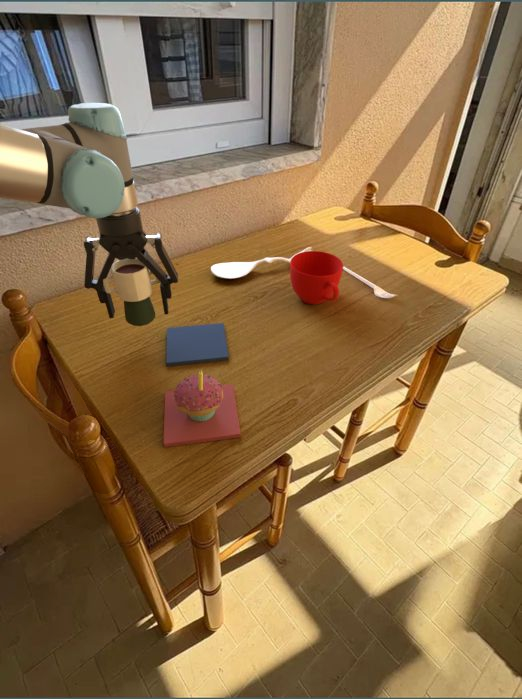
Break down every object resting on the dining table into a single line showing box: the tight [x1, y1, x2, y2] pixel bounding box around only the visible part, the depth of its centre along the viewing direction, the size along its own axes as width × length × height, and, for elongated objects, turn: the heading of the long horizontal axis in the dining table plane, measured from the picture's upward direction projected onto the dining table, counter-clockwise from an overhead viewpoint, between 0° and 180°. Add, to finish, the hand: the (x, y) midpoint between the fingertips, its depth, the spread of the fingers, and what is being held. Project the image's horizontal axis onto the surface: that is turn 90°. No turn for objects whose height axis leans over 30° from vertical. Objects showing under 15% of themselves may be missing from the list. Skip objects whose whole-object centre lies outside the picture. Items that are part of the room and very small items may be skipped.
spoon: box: [210, 246, 314, 280], centre depth 109 cm, size 9×32×4 cm, turn 108°
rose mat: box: [163, 383, 242, 448], centre depth 69 cm, size 13×12×1 cm
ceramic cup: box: [289, 250, 344, 305], centre depth 95 cm, size 13×17×10 cm
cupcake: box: [173, 369, 223, 421], centre depth 65 cm, size 9×8×12 cm
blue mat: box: [165, 322, 230, 367], centre depth 84 cm, size 13×12×1 cm
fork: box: [343, 266, 397, 299], centre depth 104 cm, size 3×20×2 cm, turn 32°
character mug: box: [103, 258, 160, 327], centre depth 78 cm, size 11×7×13 cm, turn 115°
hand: (139, 312), depth 81 cm, fingers closed on character mug, 10 cm apart
